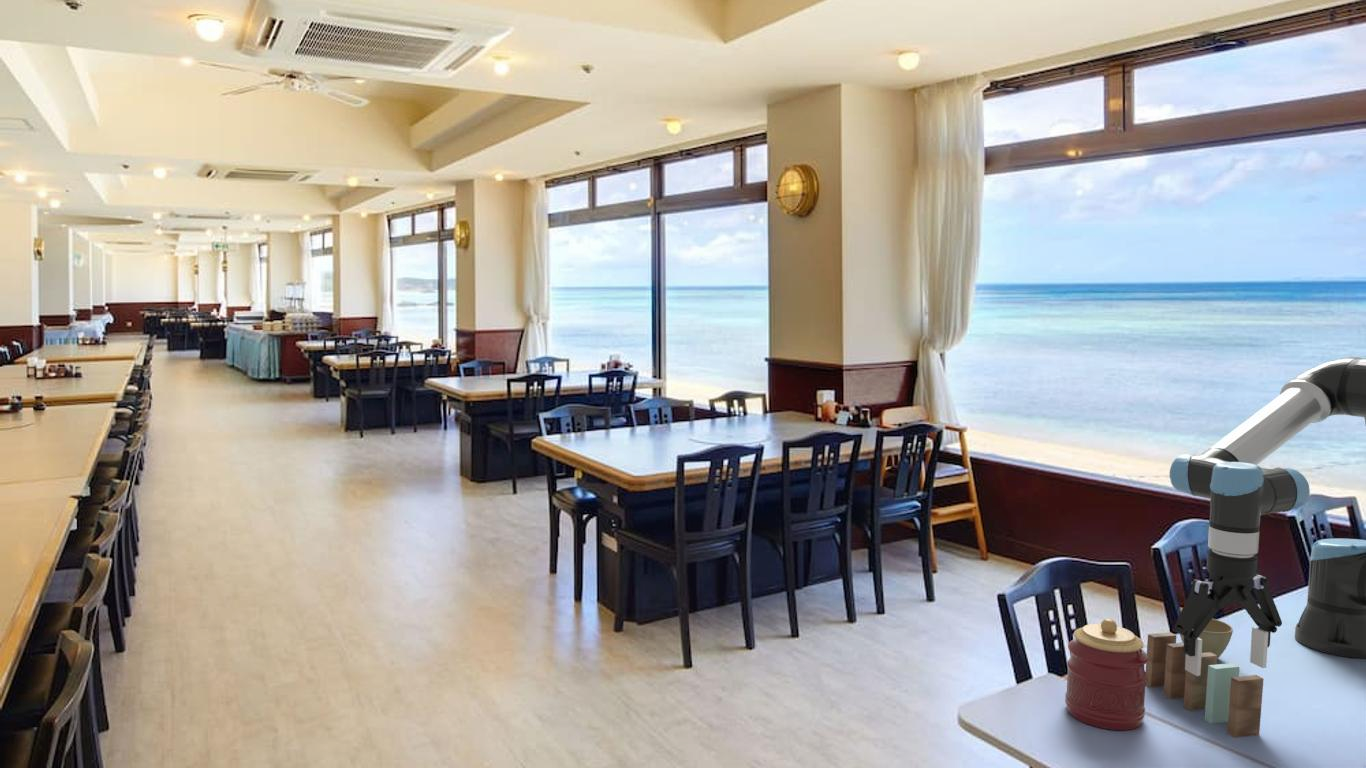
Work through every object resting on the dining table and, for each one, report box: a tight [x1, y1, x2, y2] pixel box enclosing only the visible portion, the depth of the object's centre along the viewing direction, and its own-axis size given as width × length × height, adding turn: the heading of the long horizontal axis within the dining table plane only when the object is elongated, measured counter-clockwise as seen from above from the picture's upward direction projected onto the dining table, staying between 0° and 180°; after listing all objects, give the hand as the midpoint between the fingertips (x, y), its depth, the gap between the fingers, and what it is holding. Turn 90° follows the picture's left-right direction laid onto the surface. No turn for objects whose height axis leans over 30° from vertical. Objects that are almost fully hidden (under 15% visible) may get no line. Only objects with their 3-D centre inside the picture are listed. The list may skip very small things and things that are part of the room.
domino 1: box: [1145, 631, 1177, 688], centre depth 175 cm, size 5×2×10 cm, turn 102°
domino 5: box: [1226, 674, 1264, 738], centre depth 155 cm, size 5×2×10 cm, turn 102°
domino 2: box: [1163, 642, 1186, 700], centre depth 170 cm, size 5×2×10 cm, turn 102°
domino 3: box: [1183, 652, 1218, 712], centre depth 165 cm, size 5×2×10 cm, turn 102°
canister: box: [1064, 618, 1148, 731], centre depth 162 cm, size 13×13×18 cm
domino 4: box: [1204, 662, 1240, 724], centre depth 160 cm, size 5×2×10 cm, turn 102°
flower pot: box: [1179, 618, 1234, 660], centre depth 189 cm, size 10×10×7 cm
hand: (1225, 668), depth 160 cm, fingers open, 13 cm apart
